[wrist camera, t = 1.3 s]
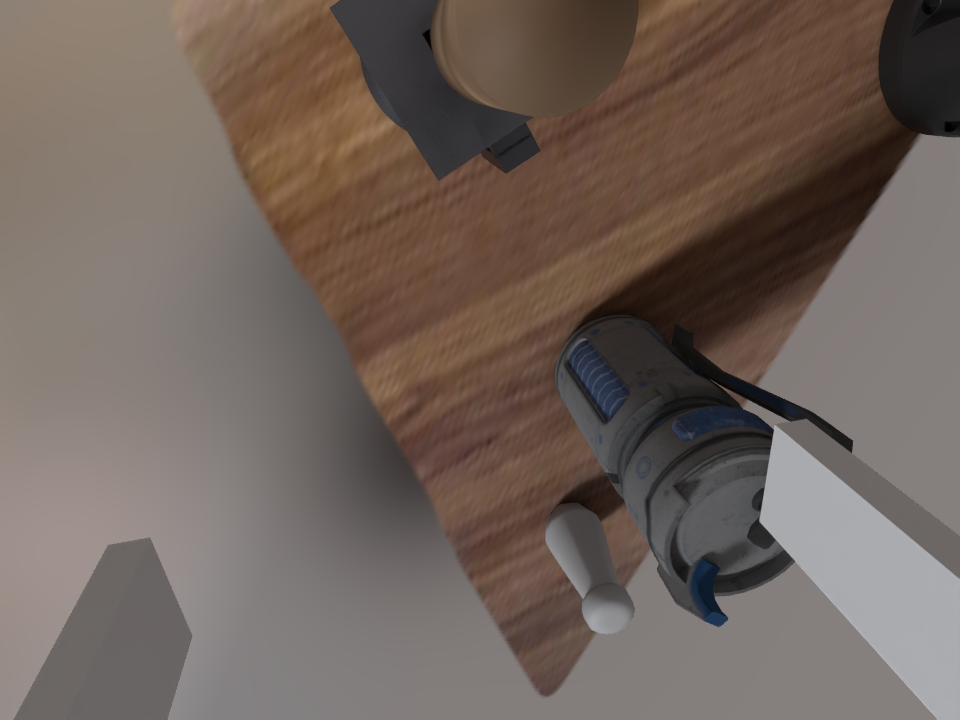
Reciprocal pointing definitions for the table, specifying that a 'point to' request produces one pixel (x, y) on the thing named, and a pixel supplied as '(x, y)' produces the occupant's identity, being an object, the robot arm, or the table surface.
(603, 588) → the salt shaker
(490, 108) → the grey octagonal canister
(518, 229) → the table surface
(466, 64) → the plunger
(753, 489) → the beverage bottle
